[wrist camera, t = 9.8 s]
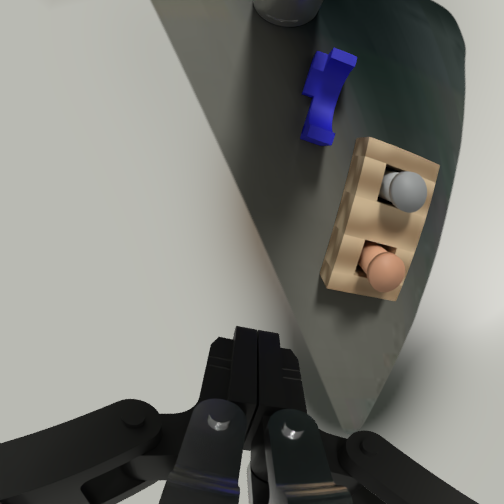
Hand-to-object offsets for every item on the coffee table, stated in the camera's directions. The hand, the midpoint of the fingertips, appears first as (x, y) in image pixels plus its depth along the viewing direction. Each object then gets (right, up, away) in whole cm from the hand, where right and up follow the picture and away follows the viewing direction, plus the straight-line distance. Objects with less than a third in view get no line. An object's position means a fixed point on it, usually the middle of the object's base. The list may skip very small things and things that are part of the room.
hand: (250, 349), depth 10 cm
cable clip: (+9, +24, +25) cm, 36 cm away
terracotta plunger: (+16, +3, +30) cm, 34 cm away
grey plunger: (+18, +13, +27) cm, 35 cm away
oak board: (+17, +8, +30) cm, 35 cm away
